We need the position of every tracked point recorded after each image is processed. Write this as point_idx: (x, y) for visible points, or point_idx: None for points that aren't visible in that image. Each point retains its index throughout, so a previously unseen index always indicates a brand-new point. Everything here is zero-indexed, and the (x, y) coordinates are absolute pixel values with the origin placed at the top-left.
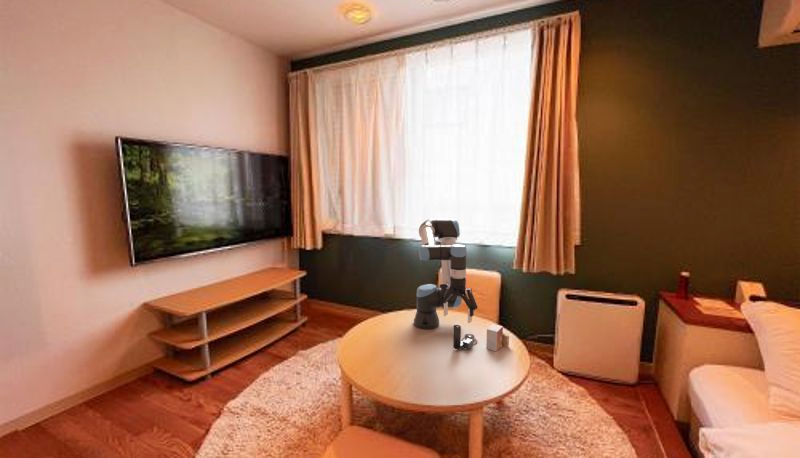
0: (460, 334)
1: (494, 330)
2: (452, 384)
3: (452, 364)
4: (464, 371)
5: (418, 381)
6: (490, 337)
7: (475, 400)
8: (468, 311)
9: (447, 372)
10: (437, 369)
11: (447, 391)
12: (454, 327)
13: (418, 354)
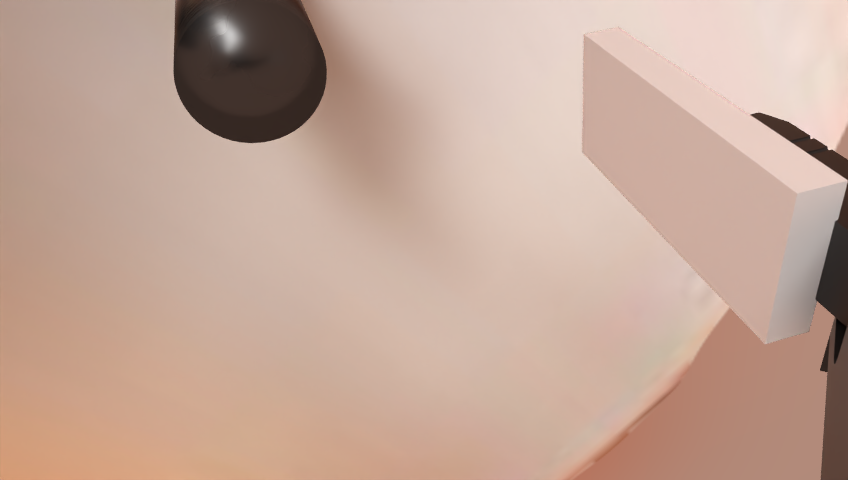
0: (301, 2)
1: None
2: (544, 332)
3: (387, 179)
4: (525, 171)
5: (367, 467)
6: None
7: (720, 317)
8: (756, 313)
9: (434, 281)
10: (352, 316)
11: (558, 388)
12: (248, 140)
13: (38, 319)
